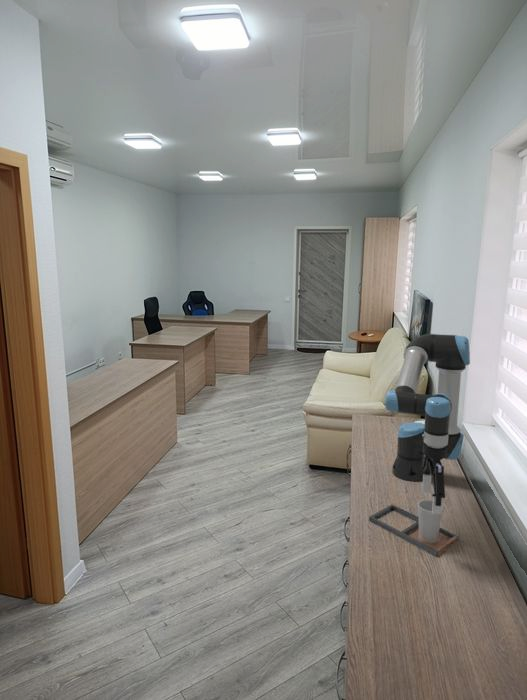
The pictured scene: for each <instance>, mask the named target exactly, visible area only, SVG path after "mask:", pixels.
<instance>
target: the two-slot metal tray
mask: <svg viewBox="0 0 527 700" xmlns="http://www.w3.org/2000/svg"><path fill="white" fill-rule="evenodd" d="M390 511H394V512H396V513H397V514H400V515H402V516H404V517H407V518H408V519H411V520H412V521H415V522H414V523H413V524H411V525H409V526H408V527H406V528H405V529H403V530H402V531H400V530H398V529H397V528H396V527H393V526H391V525H389V524H387V523H385V522H384V521H382V520H381V519H380V520H379V518H380V517H382V516H384V515H386V514H387V513H389V512H390ZM368 521H369V522H372V523H373V524H375V525H377V526H379V527H380V528H382V529H384V530H386V531H388V532H390V533H392V534H394V535H395V536H397V537H399V538H401V539H403V540H405V541H407V542H408V543H410V544H412V545H413V546H416V547H418V548H419V549H421V550H422V551H425V552H427V553H429V554H431V555H433V556H434V557H437V556H439V555H441V554H442V553H443V552H444V551H446V550H447V549H449V548H450V547H451V546H452V545H454V544H455V543H457V542H458V541H459V538H460V537H459V535H457V534H454V533H453V532H450V531H449V530H447V529H444V528H442V527H440V528H439V535H438V541H437V542H436V543H427V542H424V541H422V540H421V539H420V538H419V519H418V516H417V515H415V514H413V513H410V512H408V511H407V510H405V509H402V508H401V507H398V506H396V505H394V504H390V505H388V506H386V507H384V508H383V509H380V510H379V511H377V512H375V513H373V514H371V515H370V516H368ZM416 529H417V530H416ZM411 532H412V533H411ZM410 533H411V534H410Z"/></svg>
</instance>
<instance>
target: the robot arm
mask: <svg viewBox="0 0 527 700" xmlns="http://www.w3.org/2000/svg"><path fill="white" fill-rule="evenodd" d="M470 355H471V354H470V342H469V338H468V337H466V335H465V336H464V335H463V336H462V335H457V334H439V333H438V334H435V333H426V334H423V335H420V336H417V337H416V338H414V339H412V341H410V342H409V343H408V344H407V346H406V347H405V348H404V353H403V359H404V360H403V364H402V366H401V370H400V372H399V375H398V379H397V382H396V385H395V388H394V389H393V390H388V391H387V392H386V394H385V403H384V404H385V405H384V407H385V410H386V411H388V412H395V413H396V414H398V413H400V414H405V415H406V414H409V415H416V416H422V417H424V423H422V422H414V421H413V422H406V423H403V424H401V425H400V426H399V427H398V432H397V433H398V434H397V451H396V453H397V454H396V457H395V460H394V462H393V464H392V468H391V469H392V471H391V473H392V475H394V476H395V477H397V478H399V479H401V480H403V481H409V482H420V481H422V484H421V485H422V486H421V489H422V491H421V492H422V493H428V494H429V493H431V490H432V488H431V487H432V486H433V494H431V496H432V501H433V505H432V514H441V510H442V507H443V499H445V498H446V489H445V476H444V472H445V471H444V470H445V466H444V465H443V464H442V463H443V462H442V461H441V460H443V459H445V460H453V461H456V460H458V459H459V458H460V454H461V450H462V446H463V443H464V442H463V441H464V437H465V435H464V433H463V432H461V428H460V427H459V426H458V417H459V416H458V415H459V406H460V393H461V391H460V389H461V379H462V378H461V377H462V372H464V371H465V370H466V366H468V365H470V364H471V359H470ZM427 362H431V363H435V368H436V369H437V370H438V379H437V380H438V382H437V393H435V394H432V395H431V394H425V393H417V392H418V387H419V383H420V379H421V376H422V372H423V367H424V365H425V364H426V363H427Z"/></svg>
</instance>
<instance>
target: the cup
mask: <svg viewBox="0 0 527 700" xmlns="http://www.w3.org/2000/svg"><path fill="white" fill-rule="evenodd" d="M432 505H433V499H431V500H430V499H422V500H420V501H419V502H417V511H418V512H417V513H418V514H417V515H418V516H417V517H418V519H419V527H418V530H419V538H420V539H421V540H422V541H424V542H427V543H436V542H437V541H438V535H439V534H440V533H439V528H441V521H442V517H443V509H444V507H443V506H442V510H441V514H432Z"/></svg>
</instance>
